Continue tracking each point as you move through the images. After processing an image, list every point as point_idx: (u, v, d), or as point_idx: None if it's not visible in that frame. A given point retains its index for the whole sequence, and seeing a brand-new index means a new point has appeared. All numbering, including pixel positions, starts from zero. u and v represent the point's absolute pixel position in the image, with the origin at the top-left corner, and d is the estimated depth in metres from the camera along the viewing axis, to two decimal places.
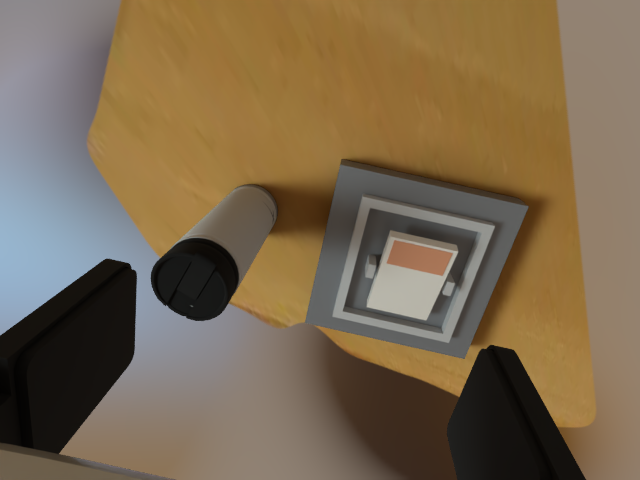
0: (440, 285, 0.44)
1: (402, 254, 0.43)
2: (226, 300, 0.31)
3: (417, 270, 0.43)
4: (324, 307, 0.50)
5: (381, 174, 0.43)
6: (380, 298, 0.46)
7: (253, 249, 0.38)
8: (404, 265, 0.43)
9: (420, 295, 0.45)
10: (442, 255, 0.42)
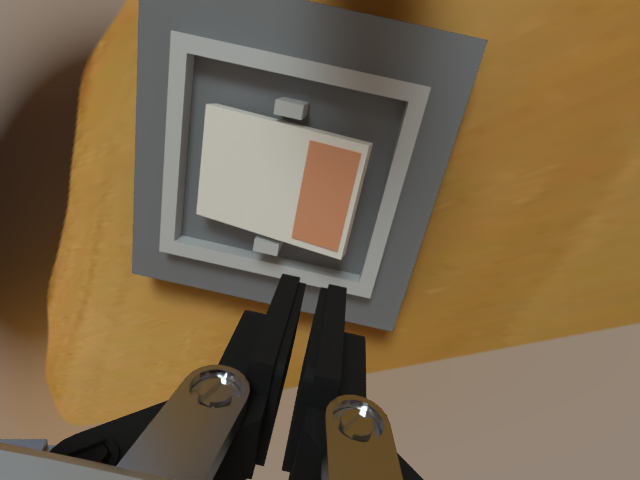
0: (271, 235, 0.26)
1: (330, 168, 0.23)
2: None
3: (299, 196, 0.24)
4: (183, 11, 0.24)
5: (460, 119, 0.25)
6: (230, 130, 0.24)
7: None
8: (306, 174, 0.24)
9: (246, 202, 0.26)
10: (333, 236, 0.25)
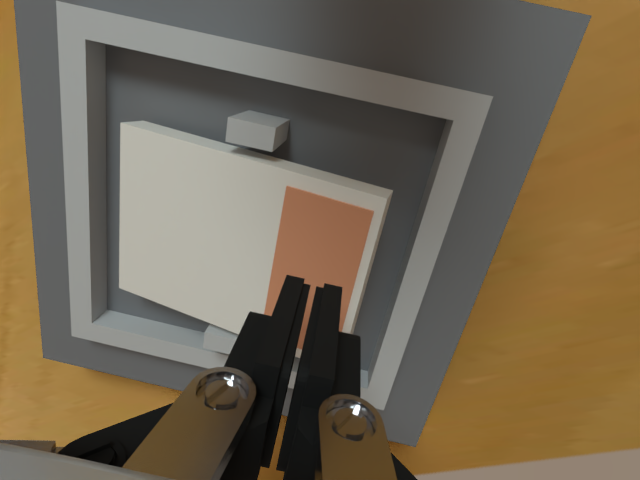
0: (230, 327, 0.16)
1: (321, 234, 0.14)
2: None
3: (271, 273, 0.15)
4: None
5: (534, 147, 0.15)
6: (160, 166, 0.15)
7: None
8: (282, 240, 0.14)
9: (190, 276, 0.16)
10: None
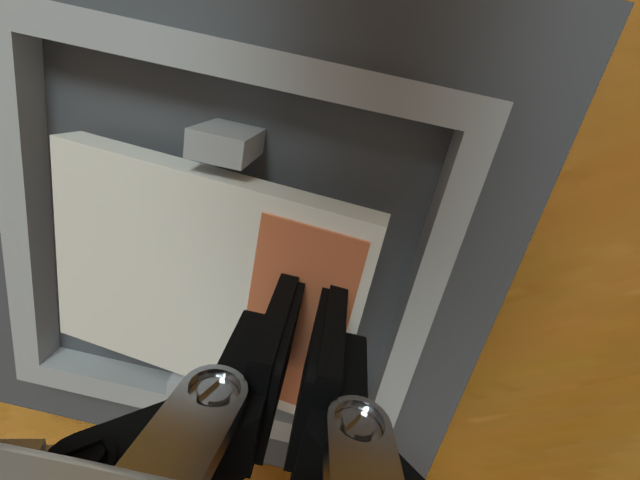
0: None
1: (305, 269, 0.11)
2: None
3: None
4: None
5: (560, 163, 0.13)
6: (103, 188, 0.12)
7: None
8: (258, 277, 0.12)
9: (147, 319, 0.13)
10: None
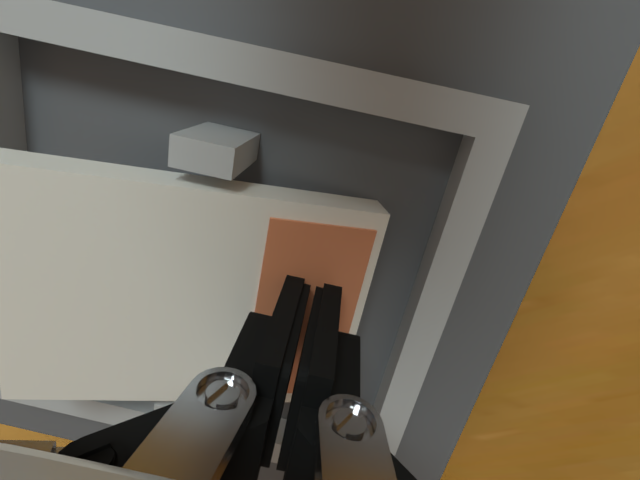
0: None
1: (316, 265, 0.12)
2: None
3: None
4: None
5: (577, 171, 0.12)
6: (61, 217, 0.10)
7: None
8: (267, 282, 0.12)
9: (131, 354, 0.12)
10: None
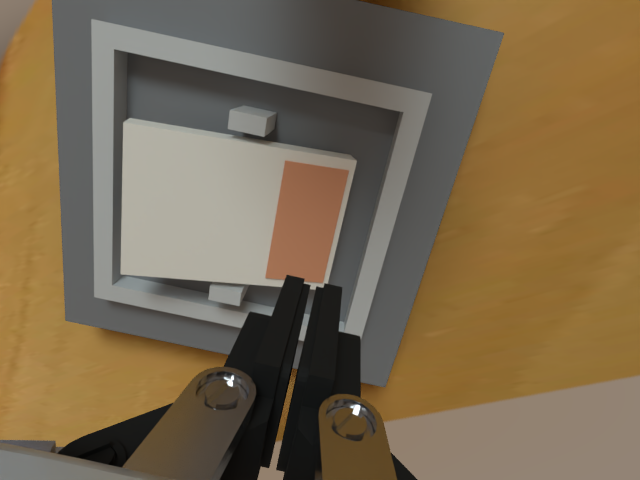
0: (237, 280, 0.21)
1: (312, 192, 0.19)
2: None
3: (273, 229, 0.20)
4: None
5: (468, 133, 0.20)
6: (167, 157, 0.17)
7: None
8: (282, 201, 0.19)
9: (199, 247, 0.19)
10: (318, 267, 0.21)
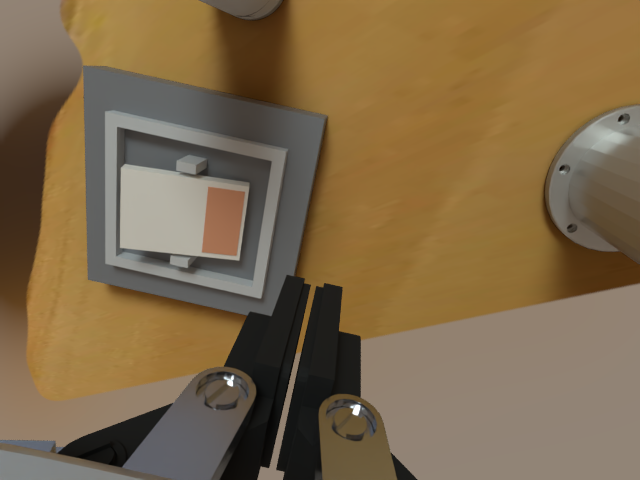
0: (185, 253, 0.36)
1: (225, 203, 0.35)
2: None
3: (204, 224, 0.35)
4: (115, 96, 0.34)
5: (313, 171, 0.35)
6: (144, 185, 0.33)
7: None
8: (208, 209, 0.35)
9: (163, 233, 0.35)
10: (232, 246, 0.36)
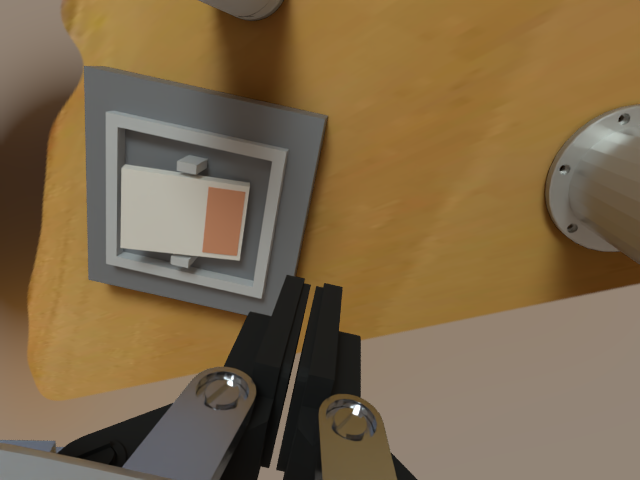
0: (186, 253, 0.36)
1: (225, 203, 0.35)
2: None
3: (204, 224, 0.35)
4: (116, 97, 0.34)
5: (313, 171, 0.35)
6: (144, 185, 0.33)
7: None
8: (209, 209, 0.35)
9: (163, 233, 0.35)
10: (233, 246, 0.36)
